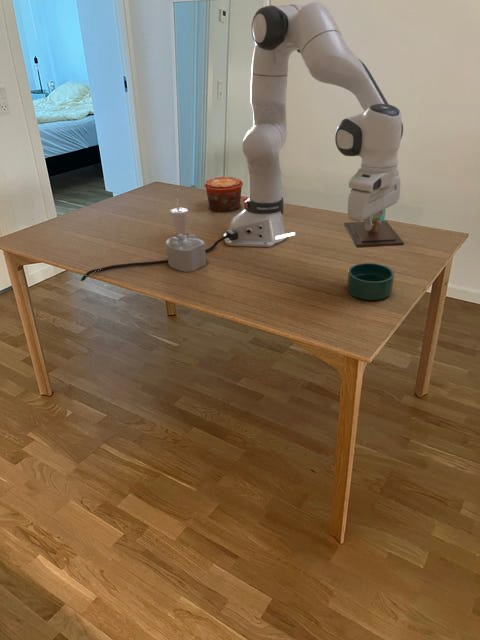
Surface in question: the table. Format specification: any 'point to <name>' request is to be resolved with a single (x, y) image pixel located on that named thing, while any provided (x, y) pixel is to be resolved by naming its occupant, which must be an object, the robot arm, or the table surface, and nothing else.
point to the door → (373, 234)
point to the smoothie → (179, 219)
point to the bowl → (370, 281)
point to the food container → (224, 193)
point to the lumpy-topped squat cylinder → (185, 252)
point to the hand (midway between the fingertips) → (372, 227)
